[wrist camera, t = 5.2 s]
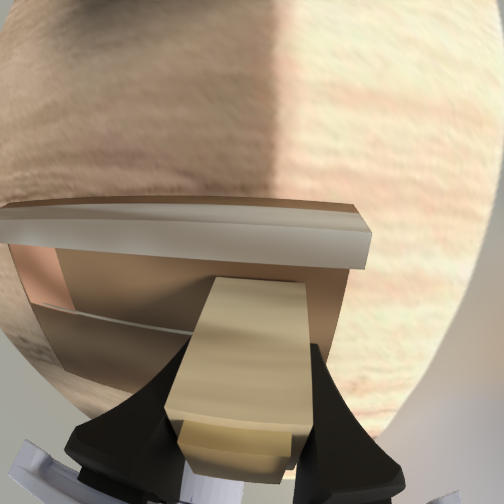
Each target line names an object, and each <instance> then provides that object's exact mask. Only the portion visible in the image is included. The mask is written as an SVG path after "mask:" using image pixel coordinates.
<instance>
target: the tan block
mask: <svg viewBox="0 0 504 504" xmlns="http://www.w3.org/2000/svg"><path fill="white" fill-rule="evenodd" d="M164 408H165V411H166V413H167V415H168V418H169V420H170V422H171V424H172V427H173V429H174V431H175V433H176V435H177V438H178V441H177V443H178V445H179V447H180V449H181V451H182V453H183V455H184V457H185V459H186V461H187V462H188V464H189V466H190V468H191V470H192V472H193V473H194V474H197V475H202V476H208V477H214V478H220V479H227V480H234V481H243V482H253V483H265V484H280V482H281V480H282V478H283V475H284V473H285V470H294V468H295V465H296V463H297V461H298V459H299V457H300V454H301V452H302V450H303V448H304V445H305V443H306V441H307V438H308V436H309V433H310V431H311V428H312V426H313V403H312V376H311V356H310V339H309V324H308V310H307V298H306V286H305V283H295V282H279V281H264V280H250V279H236V278H223V277H216V279H215V281H214V284H213V286H212V288H211V291H210V293H209V296H208V298H207V300H206V303H205V305H204V308H203V310H202V313H201V315H200V318H199V320H198V322H197V325H196V327H195V330H194V332H193V335H192V337H191V340H190V342H189V345H188V347H187V350H186V352H185V355H184V357H183V360H182V362H181V365H180V368H179V370H178V373H177V375H176V378H175V380H174V383H173V386H172V388H171V391H170V393H169V396H168V399H167V401H166V404H165V406H164Z"/></svg>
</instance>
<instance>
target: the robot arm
mask: <svg viewBox="0 0 504 504" xmlns="http://www.w3.org/2000/svg"><path fill="white" fill-rule="evenodd" d="M192 335H193V334H192ZM192 335H191V336H190V338H189V339H188V340H187V341H186V343H185V344H184V345H183V346H182V348H181V349H180V350H179V351H178V352H177V353H176V355H175V356H174V357H173V358H172V359H171V360H170V361H169V362H168V363H167V365H166V366H165V367H164V368H163V369H162V370H161V371H160V372H159V373H158V374H157V375H156V376H155V377H154V378H153V379H152V380H150V381H149V382H148V383H147V384H146V385H145V386H144V387H142V388H141V389H140V390H139V391H138V392H136V393H135V394H134V395H132V396H131V397H130V398H128V399H127V400H125V401H124V402H123V403H121V404H119V405H118V406H116V407H115V408H113V409H111V410H109V411H108V412H106V413H104V414H102V415H101V416H99V417H97V418H95V419H92V420H90V421H88V422H86V423H83V424H81V425H79V426H76V427H75V429H74V431H73V432H72V434H71V436H70V438H69V440H68V442H67V444H66V446H65V449H64V451H65V452H66V454H67V455H68V456H70V457H71V458H72V459H73V460H75V461H76V462H77V463H78V464H79V465H81V466H82V468H81V470H80V473H79V472H77V471H75V470H73V469H71V468H69V467H67V466H65V465H64V464H62V463H60V462H58V461H57V460H55V459H53V458H52V457H51V456H50V455H49V454H48V453H46V452H45V451H44V450H42V449H41V448H39V447H38V446H36V445H35V444H33V443H31V442H30V441H28V440H25V441H24V443H23V445H22V447H21V449H20V451H19V452H18V454H17V457H16V458H15V461H14V463H13V465H12V466H11V468H10V471H9V473H8V476H10V477H11V478H12V479H13V480H14V481H15V482H17V483H18V484H19V485H20V486H22V487H23V488H24V489H25V490H27V491H28V492H29V493H31V494H32V495H33V496H35V497H36V498H37V499H38V500H40V501H41V502H42V503H44V504H241V502H242V496H243V489H244V483H245V482H243V481H234V480H227V479H220V478H214V477H208V476H202V475H197V474H194V473H193V472H192V470H191V468H190V466H189V464H188V462H187V461H186V459H185V457H184V455H183V453H182V451H181V449H180V447H179V445H178V443H177V441H178V438H177V435H176V433H175V431H174V429H173V427H172V424H171V422H170V420H169V418H168V415H167V413H166V411H165V408H164V406H165V404H166V401H167V399H168V396H169V393H170V391H171V388H172V386H173V383H174V380H175V378H176V375H177V373H178V370H179V368H180V365H181V362H182V360H183V357H184V355H185V352H186V350H187V347H188V345H189V342H190V340H191V337H192ZM310 356H311V376H312V403H313V426H312V428H311V431H310V433H309V436H308V438H307V441H306V443H305V445H304V448H303V450H302V452H301V454H300V457H299V459H298V461H297V468H296V479H295V489H294V497H293V504H392V502H391V497H393V496H395V495H397V494H398V493H400V492H402V491H403V490H404V489H405V487H406V485H405V478H404V475H403V472H402V468H401V466H400V465H399V464H397V463H396V462H395V461H394V460H393V459H392V458H391V457H390V456H388V455H387V454H386V453H385V452H384V451H383V450H382V449H381V448H380V447H379V446H378V445H377V444H376V443H375V441H374V440H373V439H372V438H371V437H370V436H369V435H368V433H367V432H366V431H365V430H364V429H363V428H362V426H361V425H360V424H359V422H358V421H357V420H356V418H355V417H354V415H353V414H352V412H351V411H350V409H349V408H348V406H347V405H346V403H345V401H344V400H343V398H342V396H341V395H340V393H339V391H338V389H337V387H336V385H335V383H334V381H333V379H332V377H331V375H330V373H329V371H328V369H327V366H326V364H325V362H324V359H323V357H322V354H321V351H320V348H319V345H318V344H317V343H310ZM427 504H462V500H461V493H460V491H459V490H458V491H455V492H453V493H450V494H447V495H445V496H442V497H439V498H436V499H434V500H432V501H430V502H428V503H427Z"/></svg>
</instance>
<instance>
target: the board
mask: <svg viewBox="0 0 504 504" xmlns="http://www.w3.org/2000/svg"><path fill="white" fill-rule="evenodd" d="M371 237H372V232H371V230H370V229H369V227H368V226H367V224H366V222H365V221H364V219H363V218H362V216H361V215H360V214H359V212H358V211H357V209H356V208H355V206H354V205H353V204H342V203H330V202H318V201H304V200H289V199H271V198H250V197H222V196H111V197H85V198H65V199H50V200H36V201H24V202H13V203H8V204H6V205H5V206H3V207H1V208H0V243H8V247H9V250H10V253H11V256H12V259H13V262H14V265H15V268H16V270H17V273H18V276H19V278H20V281H21V284H22V286H23V289H24V291H25V293H26V296H27V298H28V301H29V303H30V305H31V307H32V310H33V312H34V314H35V316H36V318H37V320H38V322H39V324H40V326H41V328H42V330H43V332H44V334H45V336H46V338H47V340H48V342H49V344H50V345H51V347H52V349H53V351H54V353H55V354H56V356H57V358H58V360H59V361H60V363H61V365H62V366H63V368H64V370H65V371H67V372H69V373H72V374H75V375H77V376H80V377H83V378H85V379H88V380H91V381H94V382H97V383H100V384H103V385H106V386H109V387H113V388H116V389H119V390H123V391H126V392H130V393H133V394H135V393H136V392H138V391H139V390H140V389H141V388H142V387H144V386H145V385H146V384H147V383H148V382H149V381H150V380H152V379H153V378H154V377H155V376H156V375H157V374H158V373H159V372H160V371H161V370H162V369H163V368H164V367H165V366H166V365H167V363H168V362H169V361H170V360H171V359H172V358H173V357H174V356H175V355H176V353H177V352H178V351H179V350H180V349H181V348H182V346H183V345H184V344H185V343H186V341H187V340H188V339H189V338H190V336H191V335H192V334H193V332H194V330H195V327H196V325H197V322H198V320H199V318H200V315H201V313H202V310H203V308H204V305H205V303H206V300H207V298H208V296H209V293H210V291H211V288H212V286H213V284H214V281H215V279H216V277H223V278H236V279H250V280H264V281H279V282H295V283H305V286H306V298H307V310H308V324H309V339H310V343H317V344H318V345H319V348H320V351H321V354H322V357H323V359H324V362H325V364H326V362H327V358H328V355H329V351H330V348H331V344H332V341H333V337H334V333H335V330H336V326H337V322H338V318H339V314H340V310H341V306H342V301H343V297H344V293H345V288H346V284H347V279H348V274H349V270H350V269H362V270H365V265H366V261H367V256H368V252H369V247H370V242H371Z"/></svg>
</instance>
